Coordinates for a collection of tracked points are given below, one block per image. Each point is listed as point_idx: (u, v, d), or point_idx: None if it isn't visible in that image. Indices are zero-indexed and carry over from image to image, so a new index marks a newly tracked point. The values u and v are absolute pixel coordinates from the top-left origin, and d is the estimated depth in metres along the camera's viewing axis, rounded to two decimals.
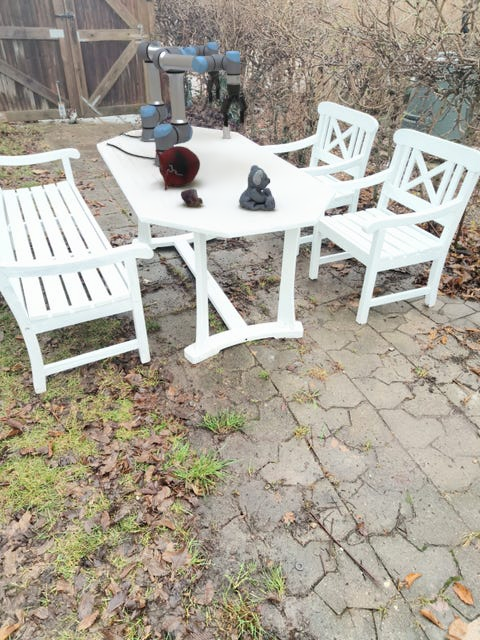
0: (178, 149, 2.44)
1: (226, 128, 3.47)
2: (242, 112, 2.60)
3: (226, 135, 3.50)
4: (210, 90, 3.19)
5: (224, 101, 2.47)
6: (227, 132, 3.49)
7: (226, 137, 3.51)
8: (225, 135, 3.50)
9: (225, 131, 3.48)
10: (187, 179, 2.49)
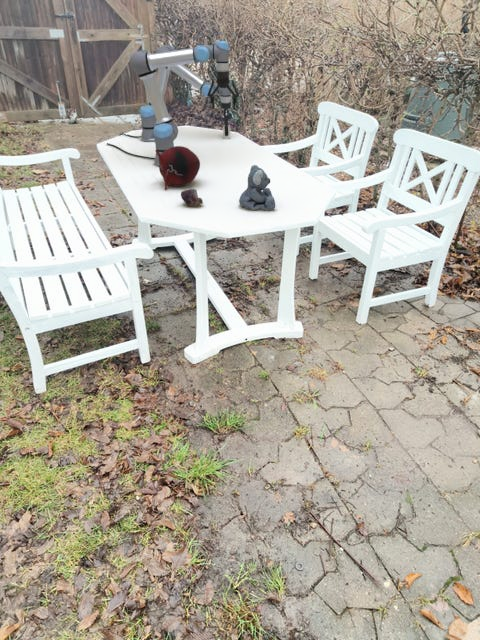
0: (178, 149, 2.44)
1: None
2: (213, 98, 2.84)
3: None
4: None
5: None
6: None
7: (226, 137, 3.51)
8: None
9: None
10: (187, 179, 2.49)
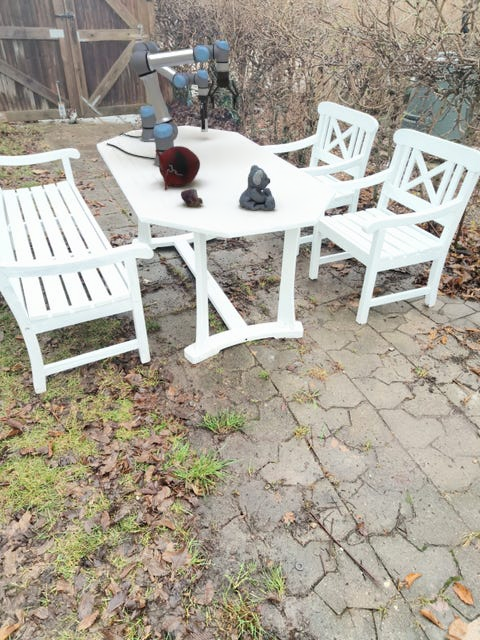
0: (178, 149, 2.44)
1: None
2: (213, 98, 2.84)
3: None
4: (203, 118, 3.32)
5: None
6: None
7: (203, 131, 3.41)
8: None
9: None
10: (187, 179, 2.49)
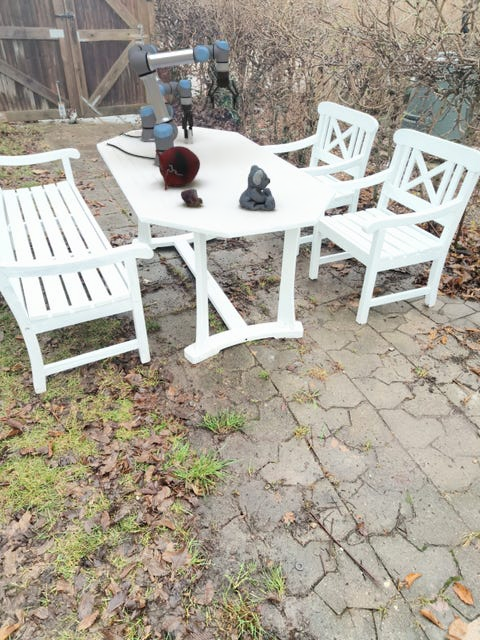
0: (178, 149, 2.44)
1: None
2: (213, 98, 2.84)
3: (186, 139, 3.38)
4: (185, 127, 3.29)
5: None
6: None
7: (187, 142, 3.39)
8: (186, 140, 3.38)
9: None
10: (187, 179, 2.49)
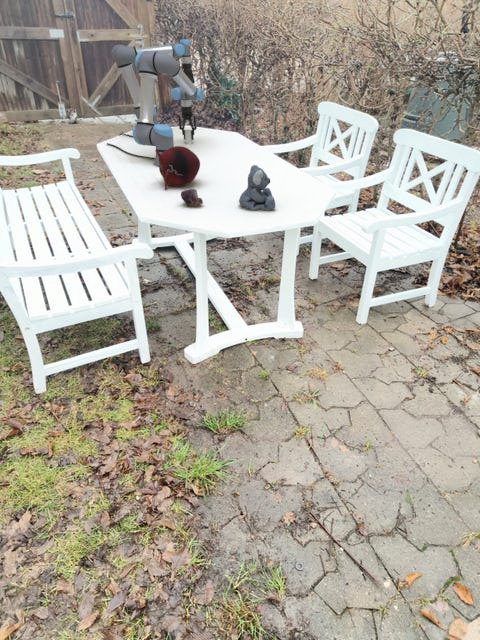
0: (178, 149, 2.44)
1: (186, 132, 3.35)
2: (184, 131, 3.38)
3: (186, 139, 3.38)
4: None
5: (195, 120, 3.31)
6: (187, 137, 3.37)
7: (187, 142, 3.39)
8: (186, 140, 3.38)
9: (186, 135, 3.37)
10: (187, 179, 2.49)
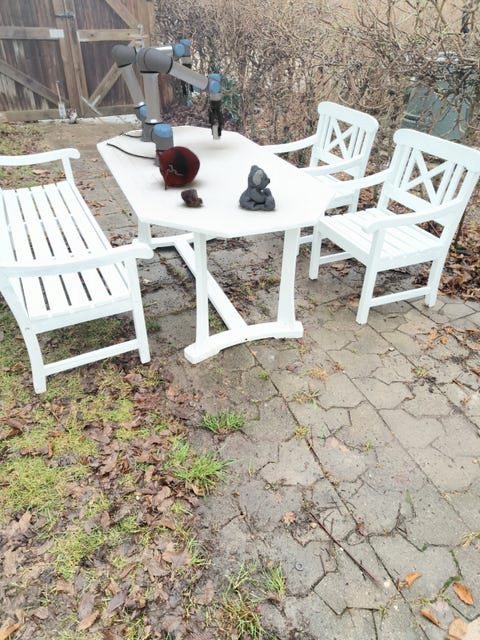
0: (178, 149, 2.44)
1: (213, 128, 3.15)
2: None
3: (213, 135, 3.18)
4: (183, 84, 3.45)
5: (222, 116, 3.08)
6: (214, 132, 3.16)
7: (213, 138, 3.19)
8: (213, 135, 3.19)
9: (213, 131, 3.17)
10: (187, 179, 2.49)
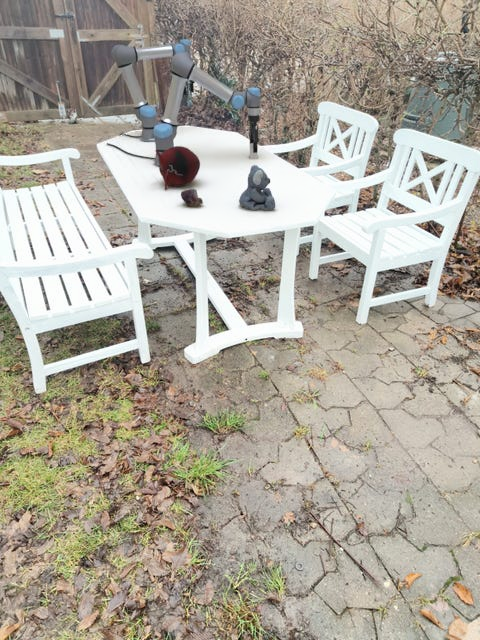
0: (178, 149, 2.44)
1: None
2: (252, 140, 3.03)
3: None
4: None
5: (256, 131, 2.90)
6: None
7: None
8: None
9: None
10: (187, 179, 2.49)
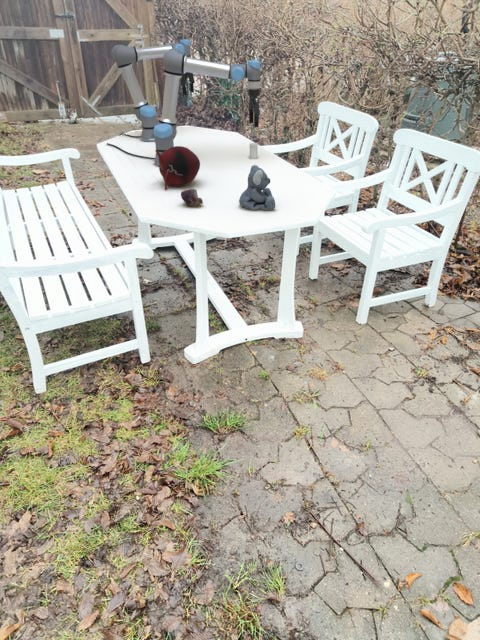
0: (178, 149, 2.44)
1: None
2: (252, 113, 2.95)
3: None
4: (183, 84, 3.45)
5: (256, 104, 2.80)
6: None
7: None
8: None
9: None
10: (187, 179, 2.49)
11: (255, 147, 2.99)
